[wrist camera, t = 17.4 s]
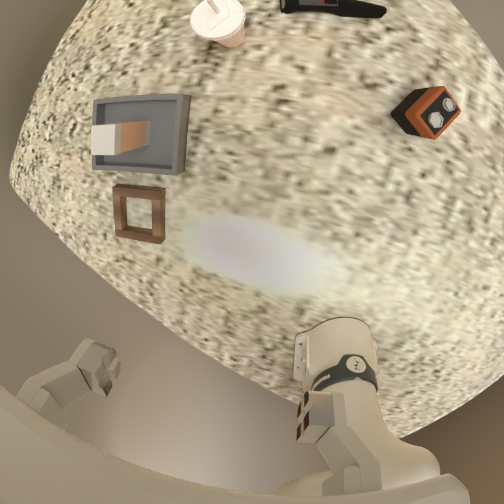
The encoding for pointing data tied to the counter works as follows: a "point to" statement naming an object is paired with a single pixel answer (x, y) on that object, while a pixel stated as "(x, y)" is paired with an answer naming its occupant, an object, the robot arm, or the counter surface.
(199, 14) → the smoothie
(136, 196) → the frame
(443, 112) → the battery
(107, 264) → the counter surface
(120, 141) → the block
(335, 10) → the electric trimmer
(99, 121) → the tray
